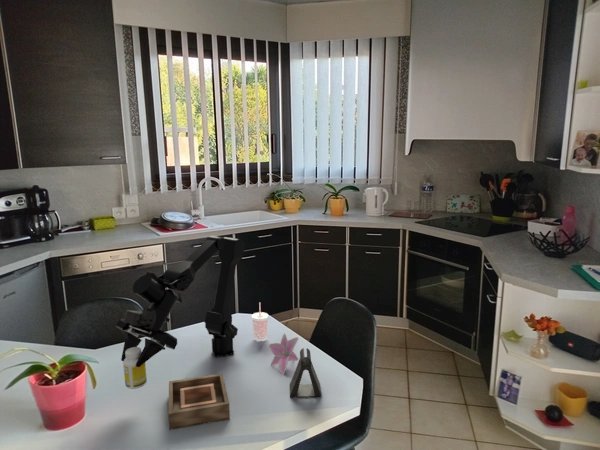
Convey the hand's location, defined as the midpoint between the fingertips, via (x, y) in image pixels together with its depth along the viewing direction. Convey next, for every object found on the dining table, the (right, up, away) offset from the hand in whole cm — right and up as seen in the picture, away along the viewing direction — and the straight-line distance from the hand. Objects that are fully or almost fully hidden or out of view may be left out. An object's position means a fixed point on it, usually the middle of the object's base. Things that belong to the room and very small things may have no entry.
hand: (129, 363), depth 112 cm
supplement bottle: (+1, -6, +3) cm, 7 cm away
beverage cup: (+30, -5, +43) cm, 53 cm away
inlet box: (+17, -13, +3) cm, 22 cm away
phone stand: (+46, -12, +11) cm, 49 cm away
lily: (+40, -9, +25) cm, 48 cm away
